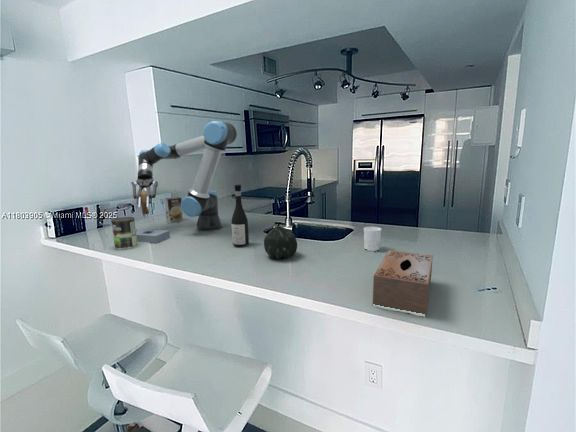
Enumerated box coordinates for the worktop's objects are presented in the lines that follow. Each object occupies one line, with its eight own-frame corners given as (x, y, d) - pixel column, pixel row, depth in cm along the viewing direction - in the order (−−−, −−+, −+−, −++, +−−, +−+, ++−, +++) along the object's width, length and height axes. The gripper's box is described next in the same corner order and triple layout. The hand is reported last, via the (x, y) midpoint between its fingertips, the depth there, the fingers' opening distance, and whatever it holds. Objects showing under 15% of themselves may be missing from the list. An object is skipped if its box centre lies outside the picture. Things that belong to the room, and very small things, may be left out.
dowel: (150, 213, 164) (147, 190, 162) (146, 214, 161) (143, 191, 159) (145, 212, 165) (142, 190, 163) (141, 214, 162) (138, 191, 160)
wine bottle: (244, 248, 148) (241, 186, 142) (229, 246, 151) (226, 185, 145) (251, 243, 156) (249, 184, 150) (237, 242, 158) (234, 183, 152)
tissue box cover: (425, 318, 85) (428, 284, 83) (372, 307, 91) (373, 275, 89) (430, 282, 107) (432, 255, 105) (387, 276, 114) (388, 250, 111)
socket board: (169, 237, 169) (169, 230, 168) (156, 243, 159) (156, 236, 158) (141, 236, 173) (140, 229, 172) (127, 241, 163) (126, 234, 162)
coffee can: (123, 250, 148) (119, 222, 145) (110, 248, 152) (106, 220, 150) (142, 244, 157) (139, 217, 154) (129, 242, 161) (125, 216, 158)
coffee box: (169, 223, 203) (167, 199, 200) (166, 221, 208) (164, 198, 205) (183, 221, 209) (181, 197, 206) (180, 219, 214) (177, 196, 211)
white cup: (365, 246, 148) (366, 225, 146) (382, 248, 144) (383, 227, 142) (360, 250, 142) (361, 229, 140) (378, 253, 138) (378, 231, 136)
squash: (295, 237, 145) (274, 216, 139) (308, 247, 132) (286, 224, 126) (274, 259, 144) (252, 239, 138) (285, 271, 130) (262, 249, 124)
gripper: (161, 177, 176) (161, 211, 164) (130, 178, 172) (128, 213, 160) (159, 168, 170) (159, 203, 158) (127, 169, 166) (124, 205, 153)
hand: (143, 208), depth 159 cm, fingers closed on dowel, 3 cm apart
